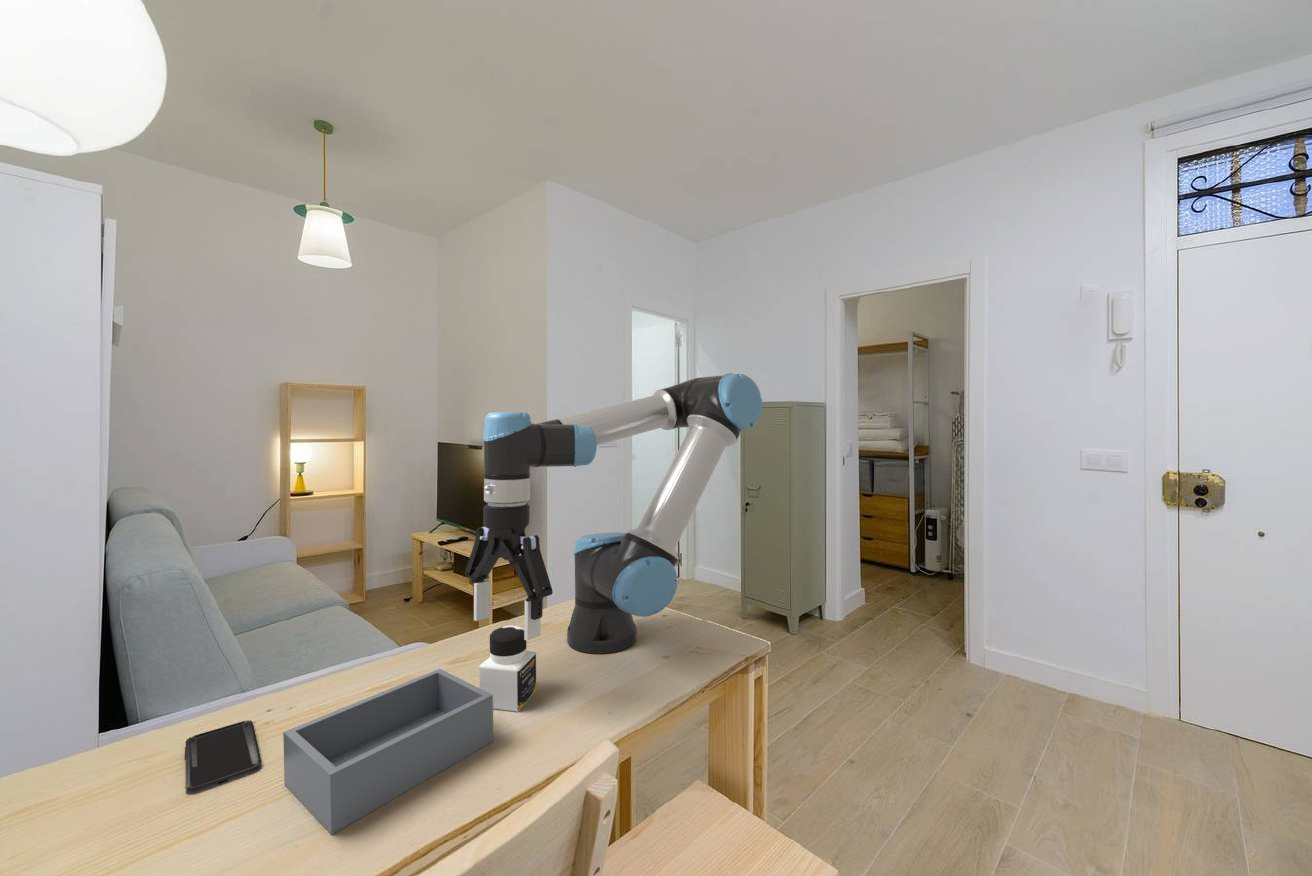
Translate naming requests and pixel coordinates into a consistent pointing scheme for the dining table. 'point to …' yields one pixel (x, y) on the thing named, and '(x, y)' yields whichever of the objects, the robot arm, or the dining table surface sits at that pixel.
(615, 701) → the dining table surface
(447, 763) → the slate box
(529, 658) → the medicine bottle
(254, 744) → the phone
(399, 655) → the dining table surface
